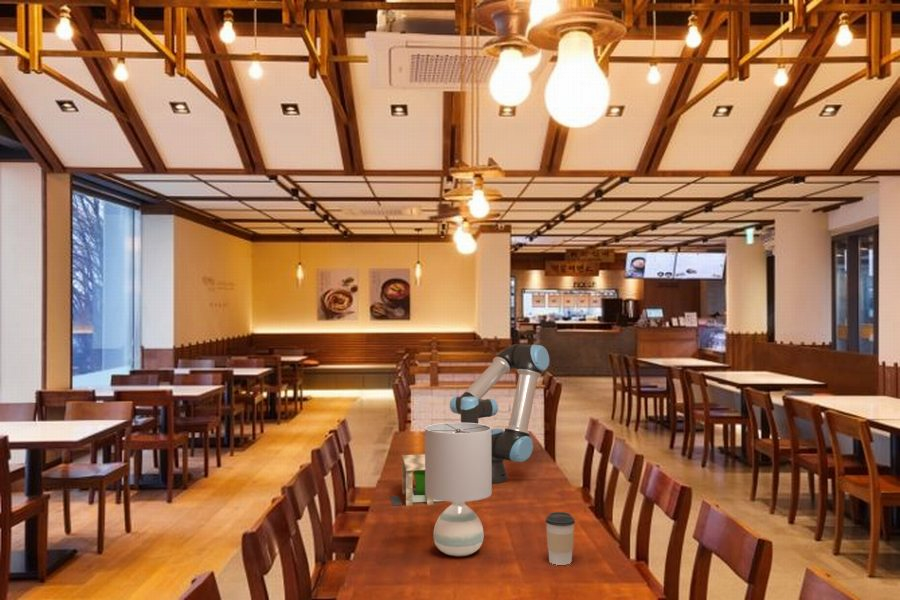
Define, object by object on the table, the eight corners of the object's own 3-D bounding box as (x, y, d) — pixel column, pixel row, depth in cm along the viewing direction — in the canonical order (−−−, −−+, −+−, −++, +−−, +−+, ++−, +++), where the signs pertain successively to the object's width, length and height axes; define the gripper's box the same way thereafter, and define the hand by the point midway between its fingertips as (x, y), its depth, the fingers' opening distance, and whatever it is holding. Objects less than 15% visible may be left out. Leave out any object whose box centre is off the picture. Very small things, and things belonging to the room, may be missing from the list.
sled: (480, 491, 315) (480, 472, 315) (486, 499, 302) (486, 480, 302) (408, 494, 311) (408, 475, 311) (411, 502, 297) (411, 482, 297)
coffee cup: (543, 557, 231) (542, 510, 232) (571, 556, 232) (570, 509, 232) (549, 567, 222) (549, 518, 223) (578, 566, 223) (578, 517, 223)
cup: (431, 501, 299) (431, 474, 299) (410, 500, 301) (410, 473, 301) (436, 496, 308) (436, 470, 308) (416, 495, 310) (416, 469, 310)
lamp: (440, 567, 223) (440, 435, 223) (415, 546, 243) (415, 425, 243) (503, 557, 231) (503, 430, 232) (474, 538, 251) (473, 421, 252)
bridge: (427, 491, 317) (427, 454, 317) (433, 505, 293) (433, 465, 293) (402, 492, 315) (402, 455, 316) (406, 506, 292) (406, 466, 292)
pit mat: (399, 496, 308) (399, 495, 308) (402, 505, 294) (402, 504, 294) (390, 496, 308) (390, 496, 308) (392, 505, 294) (392, 505, 294)
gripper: (483, 431, 312) (483, 487, 312) (453, 432, 311) (453, 488, 310) (486, 434, 305) (486, 491, 305) (455, 435, 303) (455, 492, 303)
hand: (469, 489), depth 308 cm, fingers closed
